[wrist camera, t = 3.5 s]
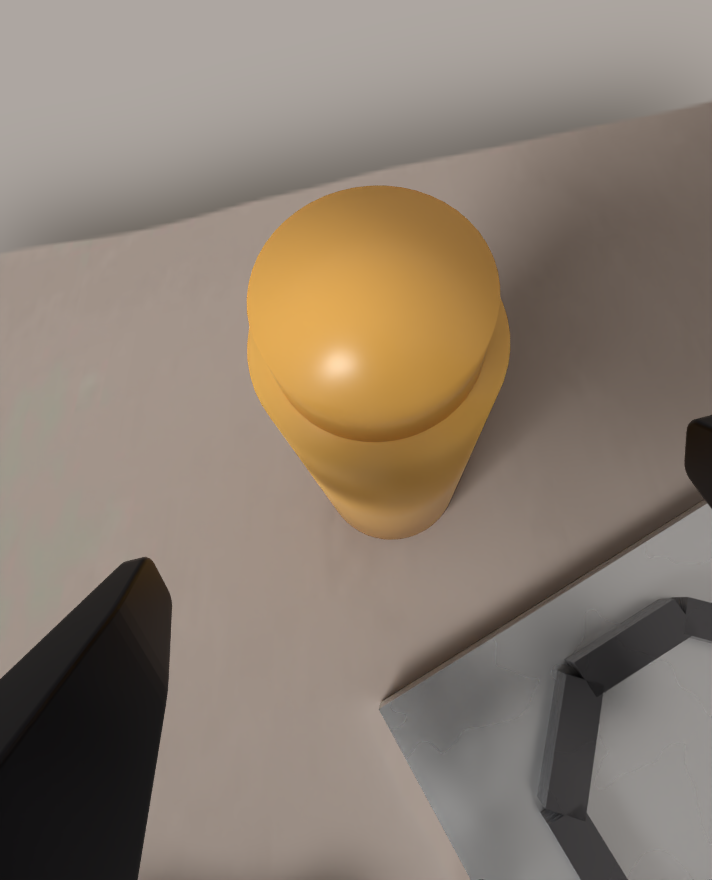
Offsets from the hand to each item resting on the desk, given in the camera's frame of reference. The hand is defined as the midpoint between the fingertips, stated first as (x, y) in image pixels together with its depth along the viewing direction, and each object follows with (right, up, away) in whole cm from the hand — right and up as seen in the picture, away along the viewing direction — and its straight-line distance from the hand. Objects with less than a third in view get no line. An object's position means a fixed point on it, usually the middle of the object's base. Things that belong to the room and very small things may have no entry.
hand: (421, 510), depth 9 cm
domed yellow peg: (0, 0, +10) cm, 10 cm away
